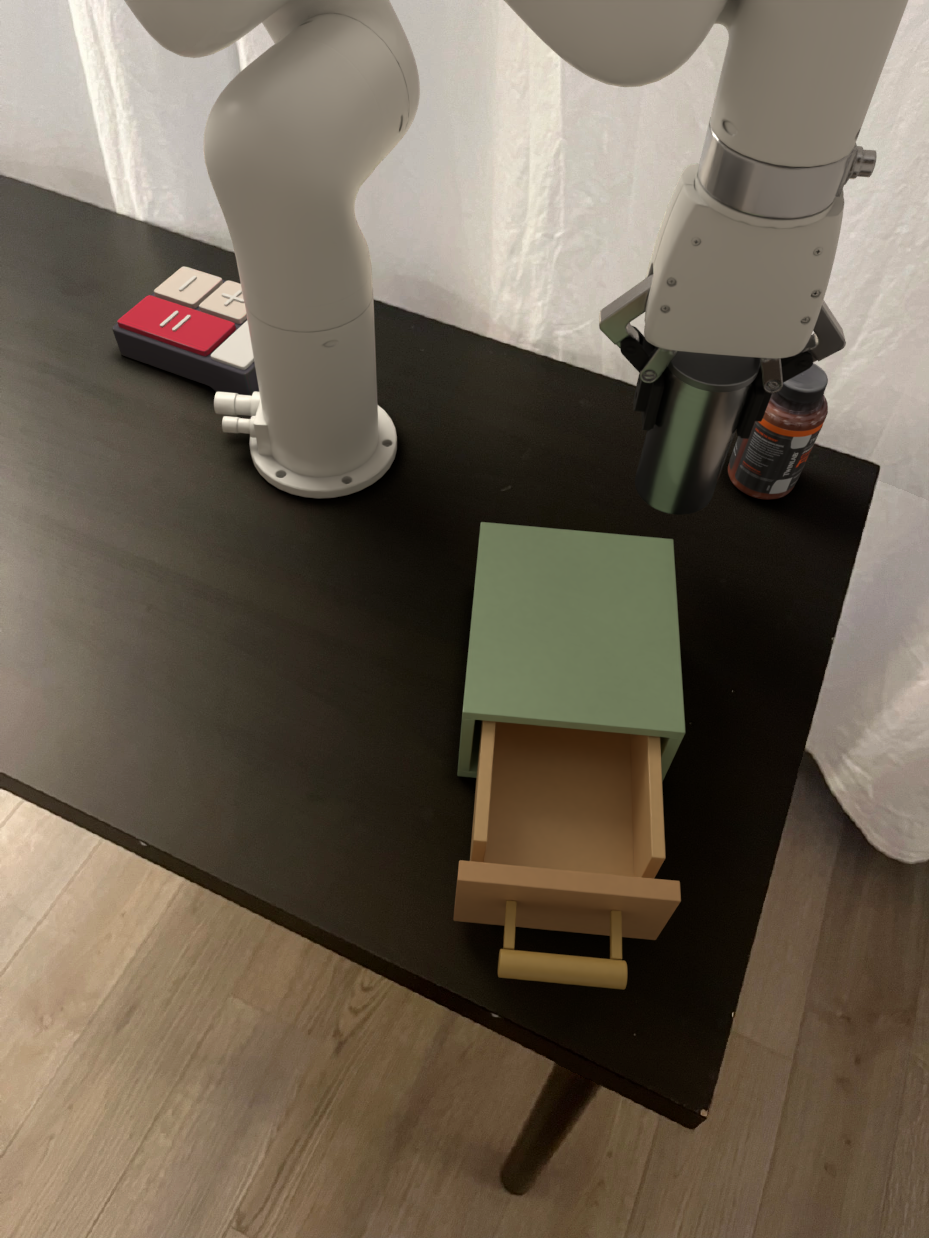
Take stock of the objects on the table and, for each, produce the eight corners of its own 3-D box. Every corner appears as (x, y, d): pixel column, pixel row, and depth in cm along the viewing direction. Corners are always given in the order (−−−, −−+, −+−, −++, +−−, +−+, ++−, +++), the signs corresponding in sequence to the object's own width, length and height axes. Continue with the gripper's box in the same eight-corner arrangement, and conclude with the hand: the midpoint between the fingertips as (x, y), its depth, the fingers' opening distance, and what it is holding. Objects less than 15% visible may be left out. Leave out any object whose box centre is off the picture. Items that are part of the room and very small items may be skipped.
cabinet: (656, 795, 65) (685, 732, 58) (457, 776, 65) (462, 712, 58) (648, 611, 74) (673, 538, 67) (474, 595, 74) (480, 521, 67)
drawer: (658, 1013, 56) (685, 980, 50) (446, 993, 56) (450, 958, 50) (648, 732, 67) (669, 680, 61) (471, 716, 67) (476, 662, 61)
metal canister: (634, 512, 69) (669, 381, 59) (632, 454, 73) (664, 321, 63) (717, 519, 69) (765, 389, 59) (711, 461, 72) (756, 329, 63)
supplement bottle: (794, 509, 81) (842, 406, 72) (724, 496, 82) (763, 393, 73) (794, 460, 85) (840, 357, 76) (727, 449, 85) (764, 344, 76)
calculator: (181, 259, 92) (313, 300, 88) (191, 298, 96) (319, 339, 91) (106, 321, 86) (244, 368, 82) (120, 360, 90) (253, 407, 85)
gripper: (918, 142, 53) (811, 395, 68) (609, 118, 53) (569, 375, 68) (948, 217, 49) (826, 470, 63) (611, 190, 49) (567, 448, 64)
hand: (694, 419), depth 66 cm, fingers closed on metal canister, 5 cm apart
